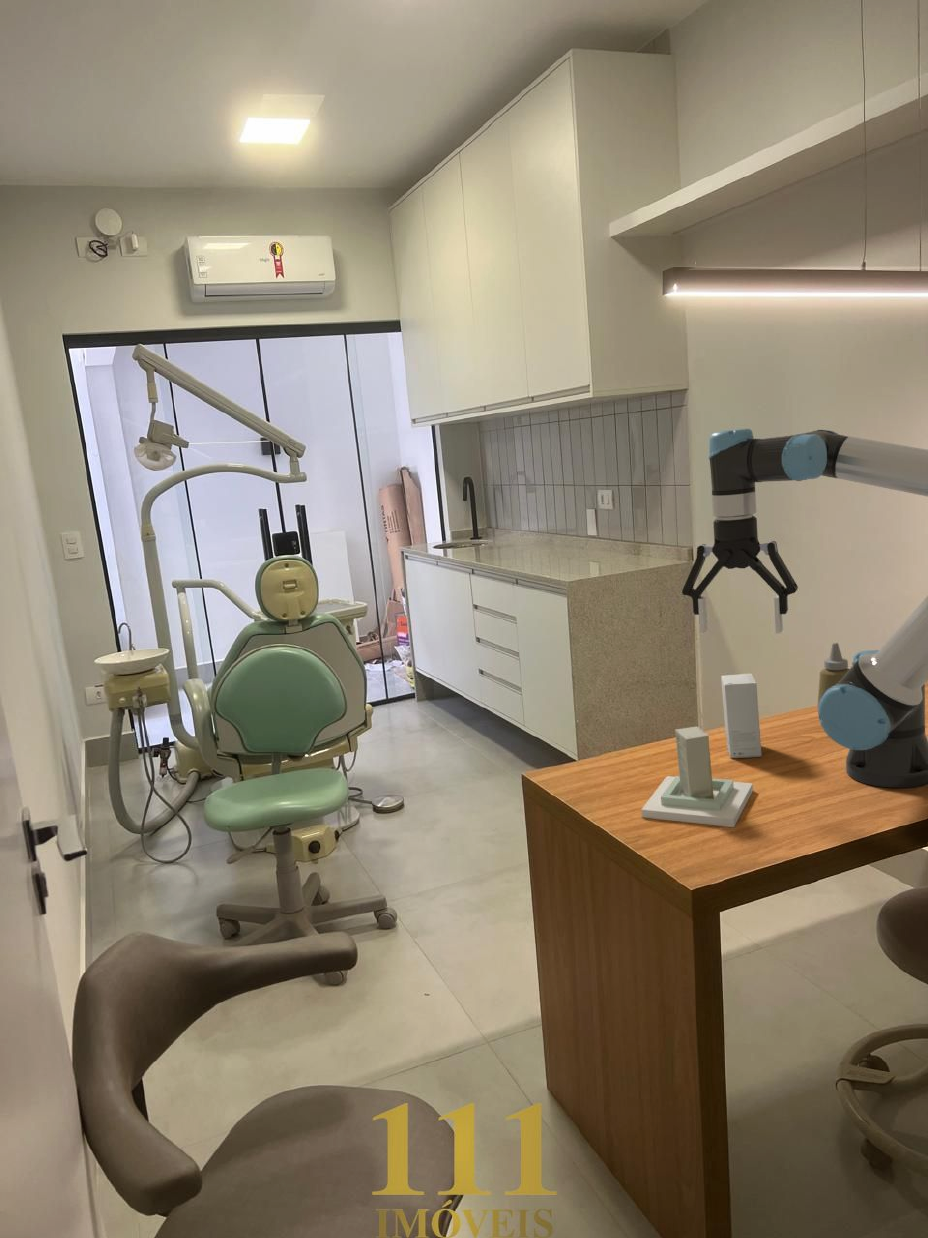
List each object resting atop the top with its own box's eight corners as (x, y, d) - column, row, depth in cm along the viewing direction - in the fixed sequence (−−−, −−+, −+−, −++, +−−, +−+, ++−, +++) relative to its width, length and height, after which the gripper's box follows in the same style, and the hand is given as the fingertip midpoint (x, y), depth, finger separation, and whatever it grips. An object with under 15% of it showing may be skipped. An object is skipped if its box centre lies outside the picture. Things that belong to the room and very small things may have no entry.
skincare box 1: (714, 801, 159) (710, 736, 157) (690, 804, 159) (685, 739, 156) (702, 788, 165) (698, 725, 163) (678, 791, 165) (674, 728, 162)
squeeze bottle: (826, 732, 190) (823, 650, 187) (812, 720, 198) (808, 641, 195) (865, 728, 190) (862, 645, 187) (848, 716, 198) (846, 637, 195)
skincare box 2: (761, 758, 180) (758, 683, 177) (727, 759, 182) (723, 685, 179) (757, 743, 188) (753, 672, 185) (724, 745, 190) (720, 674, 187)
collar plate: (753, 791, 165) (752, 775, 164) (733, 827, 151) (732, 810, 151) (667, 783, 173) (666, 768, 172) (641, 817, 159) (640, 801, 159)
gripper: (811, 510, 159) (815, 626, 163) (672, 518, 171) (679, 626, 175) (804, 515, 152) (809, 636, 156) (660, 523, 164) (668, 635, 168)
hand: (740, 631), depth 166 cm, fingers open, 13 cm apart
